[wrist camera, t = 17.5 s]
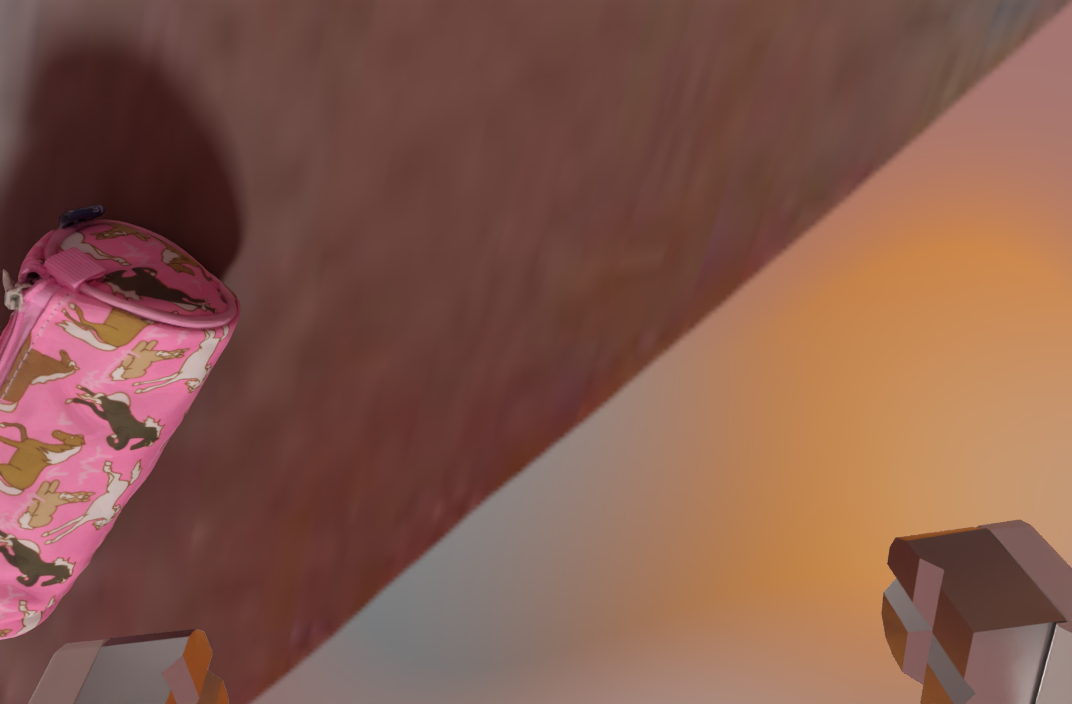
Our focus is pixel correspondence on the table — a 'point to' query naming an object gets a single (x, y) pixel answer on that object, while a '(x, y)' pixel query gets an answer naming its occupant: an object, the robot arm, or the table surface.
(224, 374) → the table surface
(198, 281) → the pencil case
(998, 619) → the robot arm
